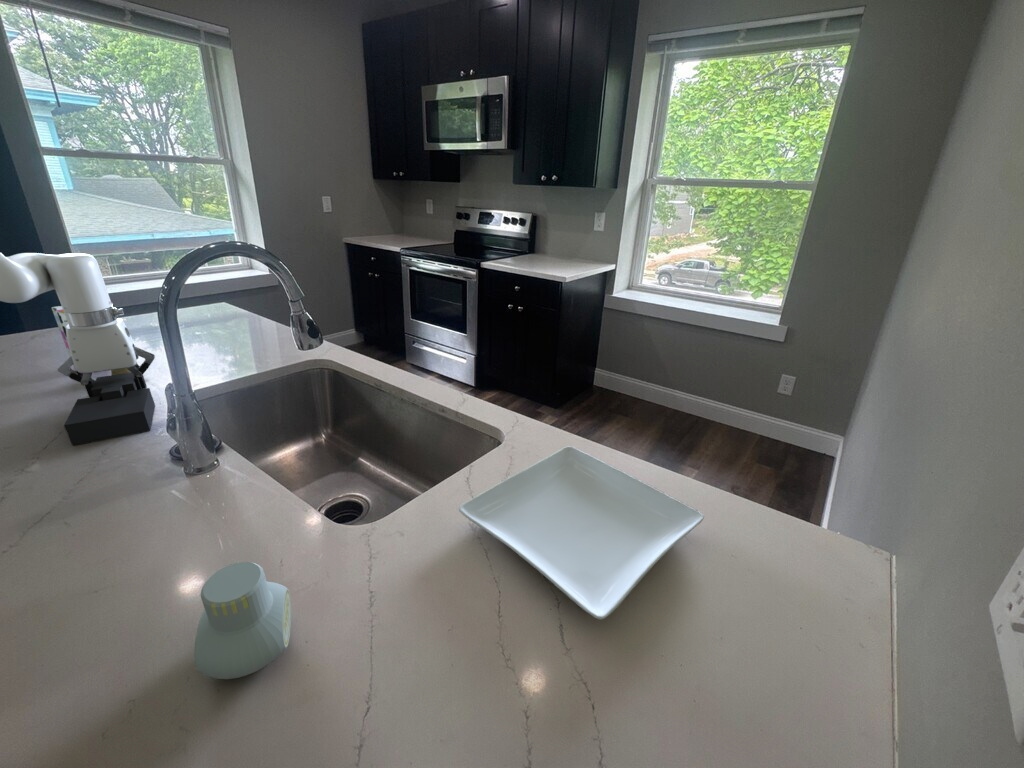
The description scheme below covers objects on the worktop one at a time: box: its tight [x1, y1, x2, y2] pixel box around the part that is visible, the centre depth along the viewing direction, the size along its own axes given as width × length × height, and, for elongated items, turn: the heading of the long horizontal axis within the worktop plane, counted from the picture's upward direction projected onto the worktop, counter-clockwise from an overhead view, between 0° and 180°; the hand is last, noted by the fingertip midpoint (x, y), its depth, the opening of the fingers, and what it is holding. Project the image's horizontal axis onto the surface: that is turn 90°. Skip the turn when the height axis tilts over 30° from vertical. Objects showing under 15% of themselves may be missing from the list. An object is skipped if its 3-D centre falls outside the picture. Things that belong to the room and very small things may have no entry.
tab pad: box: [91, 372, 137, 401], centre depth 100 cm, size 7×10×4 cm
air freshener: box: [193, 561, 292, 680], centre depth 51 cm, size 11×8×10 cm
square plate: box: [458, 445, 705, 620], centre depth 71 cm, size 27×27×4 cm
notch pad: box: [63, 387, 156, 447], centre depth 95 cm, size 12×12×4 cm
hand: (119, 394), depth 102 cm, fingers closed on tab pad, 7 cm apart
